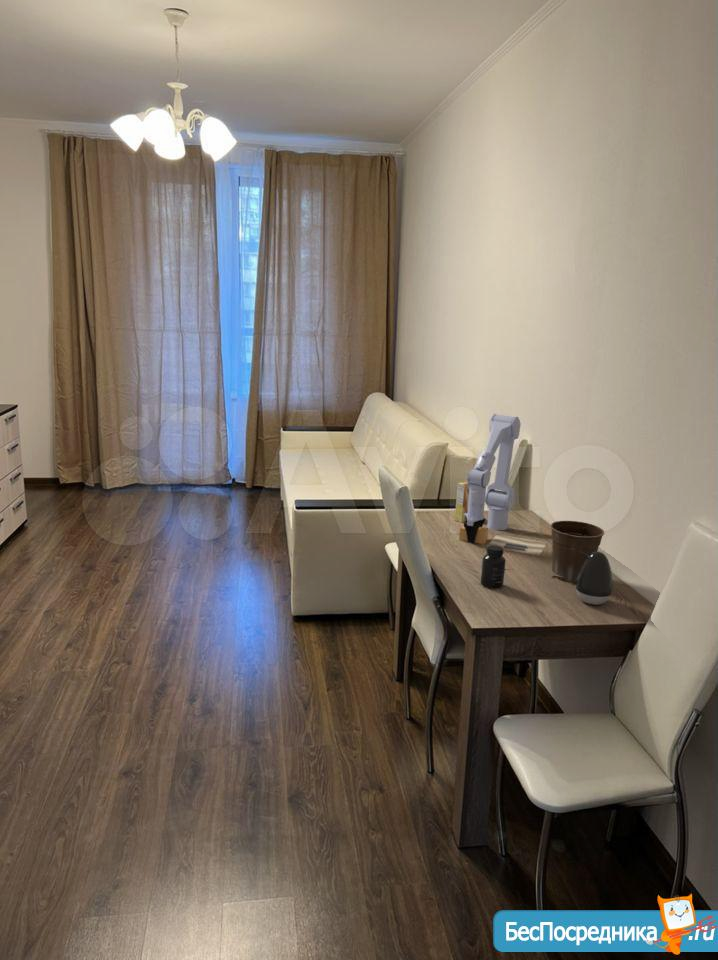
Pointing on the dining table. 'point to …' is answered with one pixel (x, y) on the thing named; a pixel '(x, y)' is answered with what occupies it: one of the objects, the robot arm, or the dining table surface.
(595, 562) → the black egg shaped device
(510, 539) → the board
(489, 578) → the supplement bottle
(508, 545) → the graphite strip
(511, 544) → the graphite strip
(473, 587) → the dining table surface
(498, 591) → the dining table surface
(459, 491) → the candy box
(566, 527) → the plant pot
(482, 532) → the block
